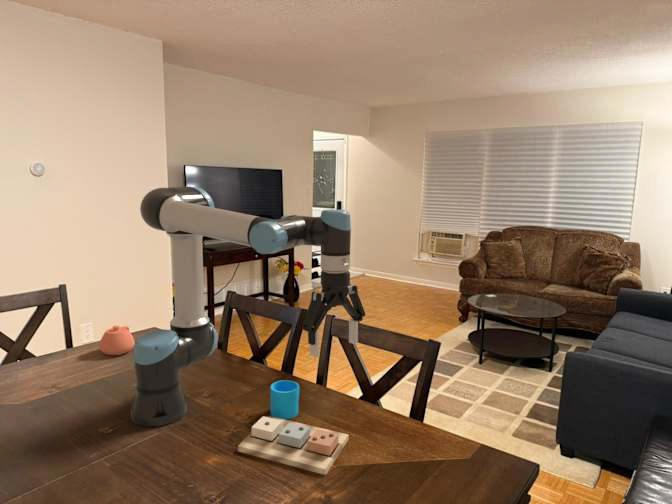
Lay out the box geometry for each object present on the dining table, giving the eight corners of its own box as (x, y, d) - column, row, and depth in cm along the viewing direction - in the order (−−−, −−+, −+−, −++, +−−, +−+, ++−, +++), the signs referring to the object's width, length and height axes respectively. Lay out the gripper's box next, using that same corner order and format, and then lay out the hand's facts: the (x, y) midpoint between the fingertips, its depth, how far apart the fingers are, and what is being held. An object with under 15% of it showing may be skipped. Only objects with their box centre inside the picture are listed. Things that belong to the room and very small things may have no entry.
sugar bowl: (92, 356, 176) (90, 330, 174) (115, 343, 189) (114, 318, 188) (122, 359, 174) (120, 332, 172) (143, 345, 187) (142, 321, 186)
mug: (288, 422, 133) (288, 395, 132) (264, 414, 137) (264, 388, 136) (310, 404, 144) (310, 379, 142) (288, 397, 147) (288, 373, 146)
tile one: (251, 435, 123) (251, 426, 122) (263, 424, 128) (263, 415, 128) (271, 441, 121) (271, 431, 120) (282, 429, 126) (282, 420, 126)
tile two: (278, 442, 120) (278, 433, 120) (289, 431, 126) (289, 421, 125) (300, 448, 118) (300, 438, 117) (309, 436, 123) (310, 426, 123)
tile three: (307, 450, 117) (307, 440, 117) (316, 437, 123) (317, 428, 122) (329, 455, 115) (329, 445, 115) (338, 442, 121) (338, 433, 120)
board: (237, 451, 119) (237, 445, 119) (269, 420, 134) (269, 415, 133) (325, 475, 110) (325, 469, 110) (348, 439, 125) (348, 434, 125)
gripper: (306, 279, 109) (306, 366, 113) (379, 266, 126) (377, 342, 129) (287, 274, 115) (287, 357, 118) (359, 262, 131) (358, 335, 135)
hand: (334, 349), depth 124 cm, fingers open, 13 cm apart
